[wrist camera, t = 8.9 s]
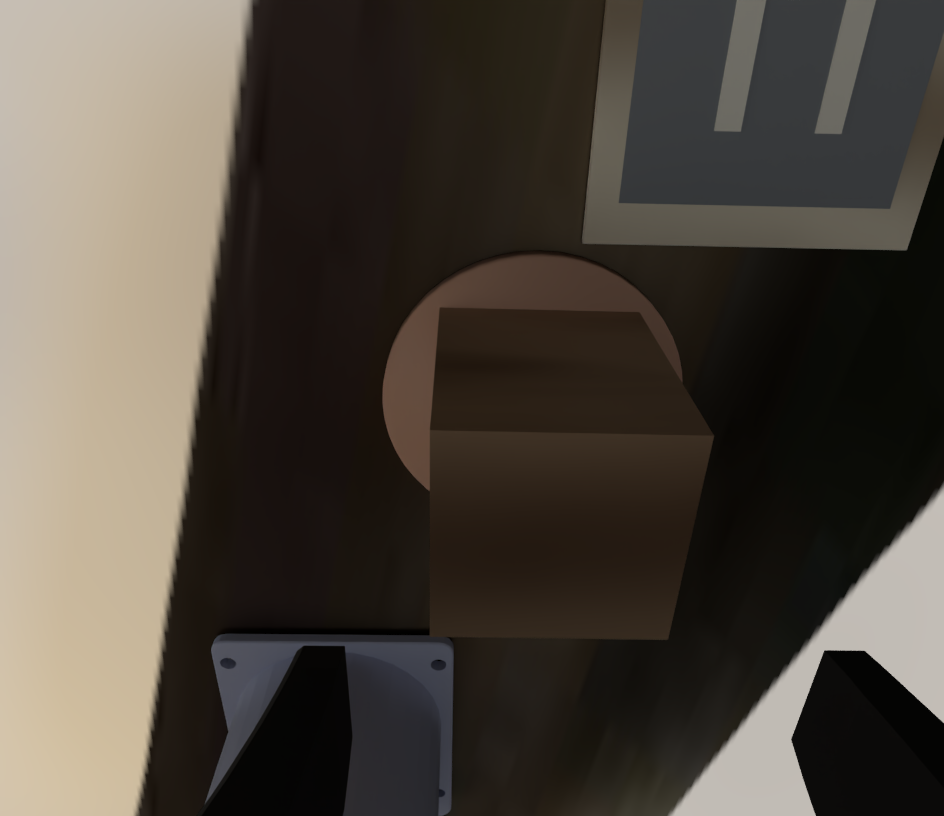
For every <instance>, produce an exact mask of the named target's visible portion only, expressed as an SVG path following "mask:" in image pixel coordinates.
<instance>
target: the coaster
mask: <svg viewBox="0 0 944 816" xmlns="http://www.w3.org/2000/svg"><path fill="white" fill-rule="evenodd" d="M440 307H444V308H486V309H528V310H570V311H612V312H640V314H641V315H642V317H643V319H644V320H645V322H646V324H647V325H648V327H649V329H650V330H651V332H652V334H653V335H654V337H655V339H656V340H657V342H658V344H659V345H660V347H661V349H662V350H663V352H664V354H665V355H666V357H667V359H668V360H669V362H670V364H671V365H672V367H673V369H674V370H675V372H676V374H677V375H678V377H679V379H680V380H681V382H682V368H681V363H680V358H679V353H678V350H677V348H676V345H675V342H674V339H673V337H672V335H671V333H670V331H669V329H668V327H667V325H666V324H665V322H664V320H663V319H662V317H661V316H660V314H659V313H658V311H657V310H656V309H655V307H654V306H653V305H652V303H651V302H650V301H649V299H648V298H647V297H646V296H645V295H644V294H643V293H642V292H641V291H640V290H639V289H638V288H637V287H636V286H635V285H634V284H633V283H631V282H630V281H628V280H627V279H626V278H624V277H623V276H622V275H620V274H619V273H617V272H615V271H613V270H612V269H610V268H608V267H606V266H604V265H602V264H600V263H597V262H595V261H592V260H589V259H586V258H584V257H580V256H576V255H571V254H567V253H562V252H551V251H520V252H514V253H508V254H502V255H498V256H494V257H491V258H488V259H485V260H481V261H478V262H476V263H474V264H472V265H469V266H467V267H465V268H463V269H461V270H459V271H457V272H456V273H454V274H452V275H451V276H449V277H448V278H446V279H444V280H443V281H441V282H440V283H439V284H438V285H436V286H435V287H434V288H433V289H432V290H430V291H429V292H428V293H427V294H426V295H425V296H424V297H423V298H422V299H421V300H420V301H419V302H418V303H417V305H416V306H415V307H414V308H413V309H412V311H411V312H410V313H409V315H408V316H407V318H406V319H405V321H404V322H403V323H402V325H401V327H400V329H399V331H398V333H397V335H396V337H395V339H394V342H393V345H392V348H391V351H390V354H389V357H388V361H387V365H386V371H385V376H384V381H383V400H382V402H383V411H384V419H385V423H386V426H387V430H388V434H389V437H390V439H391V441H392V443H393V446H394V448H395V450H396V452H397V454H398V455H399V457H400V459H401V460H402V462H403V463H404V465H405V466H406V467H407V469H408V470H409V471H410V472H411V474H412V475H413V476H414V477H415V478H416V479H417V480H418V481H419V482H420V483H421V484H422V485H423V486H424V487H425V488H426V489H427V490H429V491H430V422H431V409H432V396H433V384H434V371H435V359H436V346H437V334H438V321H439V309H440Z"/></svg>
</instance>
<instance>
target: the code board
mask: <svg viewBox="0 0 944 816" xmlns="http://www.w3.org/2000/svg"><path fill="white" fill-rule="evenodd" d="M943 137H944V0H606V3H605V13H604V23H603V33H602V43H601V53H600V63H599V73H598V83H597V93H596V103H595V113H594V124H593V134H592V144H591V154H590V164H589V174H588V184H587V194H586V204H585V214H584V224H583V234H582V243H583V244H623V245H672V246H722V247H771V248H820V249H870V250H907V248H908V244H909V241H910V238H911V235H912V232H913V229H914V226H915V223H916V220H917V217H918V214H919V211H920V208H921V204H922V201H923V198H924V195H925V192H926V189H927V186H928V183H929V180H930V177H931V174H932V171H933V168H934V164H935V161H936V158H937V155H938V152H939V149H940V146H941V143H942V140H943Z"/></svg>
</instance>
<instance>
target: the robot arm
mask: <svg viewBox="0 0 944 816" xmlns="http://www.w3.org/2000/svg"><path fill="white" fill-rule="evenodd" d="M211 653H212V658H213V662H214V667H215V671H216V676H217V681H218V685H219V690H220V694H221V699H222V704H223V708H224V713H225V718H226V722H227V727H228V731H229V732H228V735H227V738H226V741H225V744H224V747H223V750H222V753H221V756H220V759H219V762H218V765H217V768H216V771H215V774H214V777H213V780H212V783H211V786H210V790H209V793H208V796H207V799H206V802H205V805H204V806H203V808H202V809H201V810H200V812H199V813H198V815H197V816H442V815H445V814H447V813H448V812H449V811H450V810H451V791H452V726H453V662H454V646H453V642H452V641H451V640H450V639H449V638H447V637H430V635H321V634H221V635H219V636H217V637H216V639H215V640H214V642H213V645H212V647H211ZM228 658H231V659H228ZM232 659H233V660H232ZM438 659H439V660H443V661H435V660H438ZM791 740H792V743H793V746H794V750H795V753H796V756H797V759H798V763H799V766H800V769H801V773H802V776H803V779H804V782H805V785H806V788H807V791H808V794H809V797H810V800H811V803H812V806H813V808H814V812H815V814H816V816H944V723H943V722H942V721H941V720H940V719H938V718H937V717H936V716H935V715H934V714H933V713H932V712H931V711H930V710H929V709H928V708H927V707H926V706H924V705H923V704H922V703H921V702H920V701H919V700H918V699H917V698H916V697H915V696H914V695H913V694H912V693H910V692H909V691H908V690H907V689H906V688H905V687H904V686H903V685H902V684H901V683H900V682H899V681H897V680H896V679H895V678H894V677H893V676H892V675H891V674H890V673H889V672H888V671H887V670H885V669H884V668H883V667H882V666H881V665H880V664H879V663H878V662H877V661H875V660H874V659H873V658H872V657H871V656H870V655H869V654H867V653H866V652H865V651H824V653H823V656H822V659H821V661H820V664H819V667H818V669H817V672H816V675H815V677H814V680H813V683H812V686H811V688H810V691H809V694H808V696H807V699H806V702H805V704H804V707H803V709H802V712H801V715H800V717H799V720H798V723H797V726H796V729H795V731H794V734H793V736H792V739H791Z"/></svg>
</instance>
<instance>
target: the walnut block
mask: <svg viewBox="0 0 944 816" xmlns="http://www.w3.org/2000/svg"><path fill="white" fill-rule="evenodd" d="M713 438H714V435H713V433H712V432H711V430H710V428H709V427H708V425H707V423H706V422H705V420H704V418H703V417H702V415H701V413H700V412H699V410H698V408H697V407H696V405H695V403H694V402H693V400H692V398H691V397H690V395H689V393H688V392H687V390H686V388H685V387H684V385H683V383H682V382H681V380H680V379H679V377H678V375H677V374H676V372H675V370H674V369H673V367H672V365H671V364H670V362H669V360H668V359H667V357H666V355H665V354H664V352H663V350H662V349H661V347H660V345H659V344H658V342H657V340H656V339H655V337H654V335H653V334H652V332H651V330H650V329H649V327H648V325H647V324H646V322H645V320H644V319H643V317H642V315H641V314H640V312H612V311H570V310H528V309H486V308H444V307H440V309H439V321H438V334H437V346H436V359H435V371H434V384H433V396H432V409H431V422H430V637H485V638H567V639H649V640H668V637H669V632H670V628H671V624H672V619H673V615H674V610H675V606H676V602H677V597H678V593H679V588H680V584H681V579H682V575H683V571H684V566H685V562H686V557H687V553H688V549H689V544H690V540H691V535H692V531H693V526H694V522H695V518H696V513H697V509H698V504H699V500H700V496H701V491H702V487H703V482H704V478H705V473H706V469H707V465H708V460H709V456H710V451H711V447H712V443H713Z"/></svg>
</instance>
